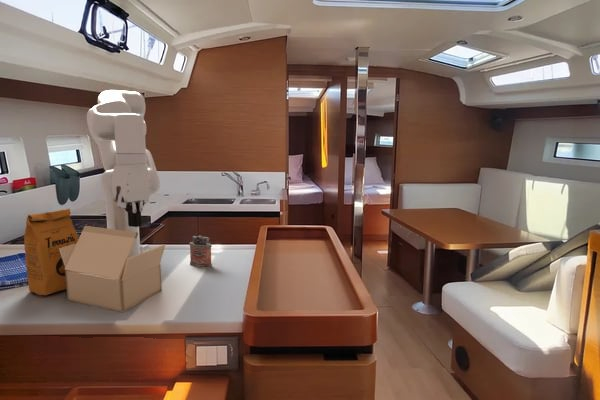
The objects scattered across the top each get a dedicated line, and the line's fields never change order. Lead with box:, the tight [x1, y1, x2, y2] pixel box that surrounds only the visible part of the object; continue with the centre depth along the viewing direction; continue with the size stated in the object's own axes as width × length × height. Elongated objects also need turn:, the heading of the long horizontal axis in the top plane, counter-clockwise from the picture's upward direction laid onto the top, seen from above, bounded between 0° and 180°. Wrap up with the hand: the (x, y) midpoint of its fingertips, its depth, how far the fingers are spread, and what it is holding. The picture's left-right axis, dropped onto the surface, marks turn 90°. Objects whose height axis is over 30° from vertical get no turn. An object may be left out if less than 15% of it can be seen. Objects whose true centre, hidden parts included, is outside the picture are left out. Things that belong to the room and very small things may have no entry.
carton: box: [59, 243, 166, 313], centre depth 100 cm, size 14×22×14 cm, turn 71°
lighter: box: [188, 235, 213, 268], centre depth 126 cm, size 8×3×10 cm, turn 68°
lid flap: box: [65, 225, 138, 280], centre depth 96 cm, size 12×17×1 cm
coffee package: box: [23, 208, 79, 296], centre depth 104 cm, size 10×12×22 cm
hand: (135, 225), depth 106 cm, fingers closed
